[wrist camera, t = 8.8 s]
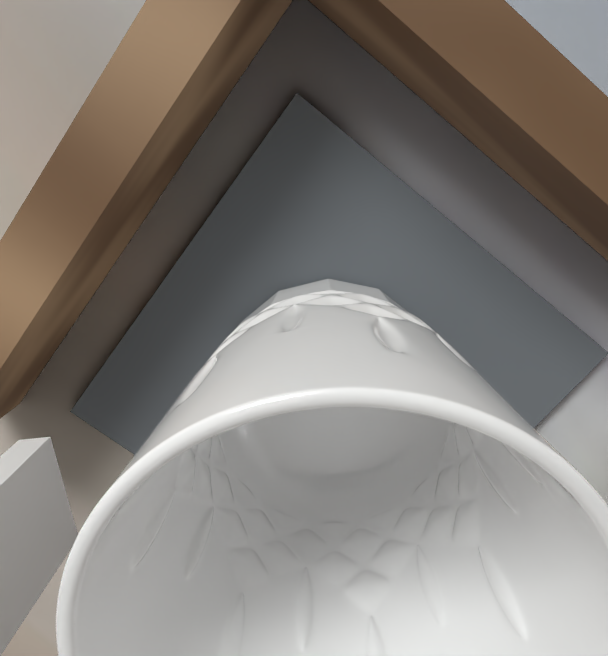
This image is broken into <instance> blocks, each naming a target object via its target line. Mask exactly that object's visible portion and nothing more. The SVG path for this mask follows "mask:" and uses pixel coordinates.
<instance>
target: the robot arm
mask: <svg viewBox="0 0 608 656" xmlns="http://www.w3.org/2000/svg"><path fill="white" fill-rule="evenodd" d="M77 536H78V533H77V529H76V526H75V522H74V519H73V515H72V512H71V508H70V504H69V501H68V497H67V494H66V490H65V487H64V483H63V480H62V476H61V472H60V469H59V465H58V462H57V458H56V455H55V451H54V448H53V444H52V440H51V437H42V438H33V439H23V440H18V441H17V442H16V443H15V444H14V445H13V446H11V447H10V448H9V449H8V450H7V451H6V452H5V453H4V454H2V455H1V456H0V656H1V654H2V653H3V651H4V650H5V648H6V647H7V645H8V644H9V642H10V640H11V639H12V637H13V636H14V634H15V633H16V631H17V630H18V628H19V627H20V625H21V624H22V622H23V621H24V619H25V618H26V616H27V615H28V613H29V612H30V610H31V609H32V607H33V606H34V604H35V603H36V601H37V600H38V598H39V597H40V595H41V594H42V592H43V590H44V589H45V587H46V586H47V584H48V583H49V581H50V580H51V578H52V577H53V575H54V574H55V572H56V571H57V569H58V568H59V566H60V565H61V563H62V562H63V560H64V559H65V557H66V556H67V554H68V553H69V551H70V550H71V548H72V546H73V544H74V542H75V540H76V538H77Z"/></svg>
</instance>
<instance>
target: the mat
mask: <svg viewBox="0 0 608 656" xmlns="http://www.w3.org/2000/svg"><path fill="white" fill-rule="evenodd" d="M324 279H334V280H339V281H344V282H348V283H353V284H358V285H363V286H368V287H373V288H378V289H380V290H381V291H382V292H384V293H385V294H386V295H388V296H389V297H390V298H392V299H393V300H394V301H395V302H397V303H398V304H399V305H401V306H402V307H403V308H405V309H406V310H407V311H408V312H410V313H411V314H413V315H415V316H416V317H418V318H419V319H421V320H422V321H423V322H425V323H426V324H427V325H428V326H429V327H430V328H432V329H433V330H434V331H435V332H436V333H438V334H439V335H440V336H441V337H442V338H443V339H444V340H445V341H446V342H448V343H449V344H450V345H451V346H452V347H453V348H454V349H455V350H456V351H457V352H459V353H460V354H461V355H462V356H463V357H464V358H465V359H466V360H467V361H468V362H469V363H470V364H471V365H472V366H473V367H474V368H475V369H476V370H477V371H478V372H479V373H480V374H481V375H482V376H483V377H484V378H485V379H486V380H487V381H488V382H489V383H490V384H491V385H492V387H493V388H494V389H495V390H496V391H497V392H498V393H499V394H500V395H501V396H502V397H503V398H504V399H505V400H506V401H507V402H508V403H509V404H510V405H511V406H512V407H513V408H514V409H515V410H516V411H517V412H518V413H519V414H520V415H521V416H522V417H523V418H524V419H525V420H526V421H527V422H528V423H529V424H530V425H531V426H532V427H533V428H534V427H535V426H536V425H537V424H538V423H539V422H540V421H541V420H542V419H543V418H544V417H545V416H546V415H547V414H548V413H549V412H550V411H551V410H552V409H553V408H554V407H555V406H556V405H557V404H558V403H559V402H560V401H561V400H562V399H563V398H564V397H565V396H566V395H567V394H568V393H569V392H570V391H571V390H572V389H573V388H574V387H575V386H576V385H577V384H578V383H579V382H580V381H581V380H582V379H583V378H584V377H585V376H586V375H587V374H588V373H589V372H590V371H591V370H592V369H593V368H594V367H595V366H596V365H597V364H598V363H599V362H600V361H601V360H602V359H603V358H604V357H605V356H606V355H607V354H608V352H607V351H606V350H605V349H603V348H602V347H601V346H600V345H599V344H597V343H596V342H595V341H594V340H593V339H591V338H590V337H589V336H588V335H587V334H585V333H584V332H583V331H582V330H581V329H579V328H578V327H577V326H576V325H575V324H573V323H572V322H571V321H570V320H569V319H567V318H566V317H565V316H564V315H563V314H561V313H560V312H559V311H558V310H557V309H555V308H554V307H553V306H552V305H551V304H549V303H548V302H547V301H546V300H545V299H543V298H542V297H541V296H540V295H539V294H537V293H536V292H535V291H534V290H533V289H531V288H530V287H529V286H528V285H527V284H525V283H524V282H523V281H522V280H521V279H519V278H518V277H517V276H516V275H515V274H513V273H512V272H511V271H510V270H509V269H507V268H506V267H505V266H504V265H503V264H501V263H500V262H499V261H498V260H497V259H495V258H494V257H493V256H492V255H491V254H489V253H488V252H487V251H486V250H485V249H484V248H482V247H481V246H480V245H479V244H478V243H476V242H475V241H474V240H473V239H472V238H470V237H469V236H468V235H467V234H466V233H464V232H463V231H462V230H461V229H460V228H458V227H457V226H456V225H455V224H454V223H452V222H451V221H450V220H449V219H448V218H446V217H445V216H444V215H443V214H442V213H440V212H439V211H438V210H437V209H436V208H434V207H433V206H432V205H431V204H430V203H428V202H427V201H426V200H425V199H424V198H422V197H421V196H420V195H419V194H418V193H416V192H415V191H414V190H413V189H412V188H410V187H409V186H408V185H407V184H406V183H404V182H403V181H402V180H401V179H400V178H398V177H397V176H396V175H395V174H394V173H392V172H391V171H390V170H389V169H388V168H386V167H385V166H384V165H383V164H382V163H380V162H379V161H378V160H377V159H376V158H374V157H373V156H372V155H371V154H370V153H368V152H367V151H366V150H365V149H364V148H362V147H361V146H360V145H359V144H358V143H356V142H355V141H354V140H353V139H352V138H350V137H349V136H348V135H347V134H346V133H344V132H343V131H342V130H341V129H340V128H338V127H337V126H336V125H335V124H334V123H332V122H331V121H330V120H329V119H328V118H326V117H325V116H324V115H323V114H322V113H320V112H319V111H318V110H317V109H316V108H314V107H313V106H312V105H311V104H310V103H308V102H307V101H306V100H305V99H304V98H302V97H301V96H300V95H299V94H298V93H296V95H295V96H294V98H293V99H292V100H291V102H290V103H289V105H288V106H287V107H286V109H285V110H284V112H283V113H282V114H281V116H280V117H279V119H278V120H277V122H276V123H275V124H274V126H273V127H272V129H271V130H270V131H269V133H268V134H267V136H266V137H265V138H264V140H263V141H262V143H261V144H260V145H259V147H258V148H257V150H256V151H255V152H254V154H253V155H252V157H251V158H250V159H249V161H248V162H247V164H246V165H245V167H244V168H243V169H242V171H241V172H240V174H239V175H238V176H237V178H236V179H235V181H234V182H233V183H232V185H231V186H230V188H229V189H228V190H227V192H226V193H225V195H224V196H223V197H222V199H221V200H220V202H219V203H218V205H217V206H216V207H215V209H214V210H213V212H212V213H211V214H210V216H209V217H208V219H207V220H206V221H205V223H204V224H203V226H202V227H201V228H200V230H199V231H198V233H197V234H196V235H195V237H194V238H193V240H192V241H191V242H190V244H189V245H188V247H187V248H186V250H185V251H184V252H183V254H182V255H181V257H180V258H179V259H178V261H177V262H176V264H175V265H174V266H173V268H172V269H171V271H170V272H169V273H168V275H167V276H166V278H165V279H164V280H163V282H162V283H161V285H160V286H159V287H158V289H157V290H156V292H155V293H154V295H153V296H152V297H151V299H150V300H149V302H148V303H147V304H146V306H145V307H144V309H143V310H142V311H141V313H140V314H139V316H138V317H137V318H136V320H135V321H134V323H133V324H132V325H131V327H130V328H129V330H128V331H127V333H126V334H125V335H124V337H123V338H122V340H121V341H120V342H119V344H118V345H117V347H116V348H115V349H114V351H113V352H112V354H111V355H110V356H109V358H108V359H107V361H106V362H105V363H104V365H103V366H102V368H101V369H100V370H99V372H98V373H97V375H96V376H95V378H94V379H93V380H92V382H91V383H90V385H89V386H88V387H87V389H86V390H85V392H84V393H83V394H82V396H81V397H80V399H79V400H78V401H77V403H76V404H75V406H74V407H73V408H72V410H71V411H70V412H72V413H73V414H75V415H76V416H78V417H79V418H81V419H82V420H84V421H85V422H87V423H88V424H90V425H91V426H93V427H94V428H96V429H97V430H99V431H100V432H102V433H103V434H105V435H106V436H108V437H109V438H110V439H112V440H113V441H115V442H116V443H118V444H119V445H121V446H122V447H124V448H125V449H127V450H128V451H130V452H131V453H133V454H134V455H135V454H136V452H137V451H138V450H139V449H140V447H141V446H142V445H143V443H144V442H145V441H146V439H147V438H148V437H149V435H150V434H151V433H152V431H153V430H154V429H155V427H156V426H157V425H158V423H159V422H160V421H161V419H162V418H163V417H164V415H165V414H166V413H167V411H168V410H169V409H170V407H171V406H172V405H173V403H174V402H175V401H176V399H177V398H178V397H179V395H180V394H181V393H182V391H183V390H184V389H185V387H186V386H187V384H188V383H189V382H190V380H191V379H192V378H193V377H194V375H195V374H196V373H197V372H198V371H199V369H200V368H201V367H202V366H203V365H204V364H205V363H206V362H207V361H208V359H209V358H210V357H211V356H212V354H213V353H214V352H215V350H216V349H217V348H218V347H219V346H220V345H221V343H222V342H223V341H224V340H225V339H226V338H227V337H228V336H229V335H230V334H231V333H232V332H233V331H234V330H235V329H236V328H237V326H238V325H239V323H240V322H241V321H243V320H244V319H245V318H246V317H247V316H249V315H250V314H251V313H252V312H253V311H255V310H256V309H257V308H258V307H259V306H261V305H262V304H263V303H264V302H265V301H267V300H268V299H269V298H270V297H271V296H273V295H274V294H275V293H276V292H278V291H279V290H283V289H287V288H291V287H295V286H299V285H304V284H308V283H312V282H316V281H320V280H324Z"/></svg>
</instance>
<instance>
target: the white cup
mask: <svg viewBox="0 0 608 656" xmlns="http://www.w3.org/2000/svg"><path fill="white" fill-rule="evenodd" d="M56 641H57V650H58V656H608V505H607V504H606V502H605V501H604V500H603V498H602V497H601V496H600V495H599V493H598V492H597V491H596V490H595V489H594V488H593V486H592V485H591V484H590V483H589V482H588V481H587V480H586V479H585V478H584V477H583V476H582V475H581V474H580V473H579V472H578V471H577V470H576V469H575V468H574V467H573V466H572V465H571V464H570V463H569V462H568V461H567V460H566V459H565V458H564V457H563V456H562V455H561V454H560V453H559V452H558V451H557V450H556V449H555V448H554V447H553V446H552V445H551V444H550V443H549V442H548V441H547V440H546V439H545V438H544V437H543V436H542V435H541V434H540V433H539V432H538V431H537V430H535V429H534V428H533V427H532V426H531V425H530V424H529V423H528V422H527V421H526V420H525V419H524V418H523V417H522V416H521V415H520V414H519V413H518V412H517V411H516V410H515V409H514V408H513V407H512V406H511V405H510V404H509V403H508V402H507V401H506V400H505V399H504V398H503V397H502V396H501V395H500V394H499V393H498V392H497V391H496V390H495V389H494V388H493V387H492V385H491V384H490V383H489V382H488V381H487V380H486V379H485V378H484V377H483V376H482V375H481V374H480V373H479V372H478V371H477V370H476V369H475V368H474V367H473V366H472V365H471V364H470V363H469V362H468V361H467V360H466V359H465V358H464V357H463V356H462V355H461V354H460V353H459V352H457V351H456V350H455V349H454V348H453V347H452V346H451V345H450V344H449V343H448V342H446V341H445V340H444V339H443V338H442V337H441V336H440V335H439V334H438V333H436V332H435V331H434V330H433V329H432V328H430V327H429V326H428V325H427V324H426V323H425V322H423V321H422V320H421V319H419V318H418V317H416V316H415V315H413V314H411V313H410V312H408V311H407V310H406V309H405V308H403V307H402V306H401V305H399V304H398V303H397V302H395V301H394V300H393V299H392V298H390V297H389V296H388V295H386V294H385V293H384V292H382V291H381V290H380V289H378V288H373V287H368V286H363V285H358V284H353V283H348V282H344V281H339V280H334V279H324V280H320V281H316V282H312V283H308V284H304V285H299V286H295V287H291V288H287V289H283V290H279V291H278V292H276V293H275V294H274V295H273V296H271V297H270V298H269V299H268V300H267V301H265V302H264V303H263V304H262V305H261V306H259V307H258V308H257V309H256V310H255V311H253V312H252V313H251V314H250V315H249V316H247V317H246V318H245V319H244V320H243V321H241V322H240V323H239V325H238V326H237V328H236V329H235V330H234V331H233V332H232V333H231V334H230V335H229V336H228V337H227V338H226V339H225V340H224V341H223V342H222V343H221V345H220V346H219V347H218V348H217V349H216V350H215V352H214V353H213V354H212V356H211V357H210V358H209V359H208V361H207V362H206V363H205V364H204V365H203V366H202V367H201V368H200V369H199V371H198V372H197V373H196V374H195V375H194V377H193V378H192V379H191V380H190V382H189V383H188V384H187V386H186V387H185V389H184V390H183V391H182V393H181V394H180V395H179V397H178V398H177V399H176V401H175V402H174V403H173V405H172V406H171V407H170V409H169V410H168V411H167V413H166V414H165V415H164V417H163V418H162V419H161V421H160V422H159V423H158V425H157V426H156V427H155V429H154V430H153V431H152V433H151V434H150V435H149V437H148V438H147V439H146V441H145V442H144V443H143V445H142V446H141V447H140V449H139V450H138V451H137V452H136V454H135V455H134V456H133V458H132V459H131V460H130V462H129V463H128V464H127V465H126V467H125V468H124V469H123V471H122V472H121V473H120V475H119V476H118V477H117V478H116V480H115V481H114V482H113V484H112V485H111V486H110V488H109V489H108V490H107V491H106V493H105V494H104V495H103V497H102V498H101V499H100V500H99V502H98V503H97V505H96V506H95V507H94V509H93V510H92V512H91V513H90V515H89V516H88V518H87V520H86V521H85V523H84V525H83V526H82V528H81V530H80V532H79V534H78V536H77V538H76V540H75V542H74V544H73V546H72V549H71V551H70V554H69V556H68V559H67V562H66V565H65V568H64V572H63V575H62V579H61V583H60V588H59V593H58V600H57V609H56Z"/></svg>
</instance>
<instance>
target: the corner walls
mask: <svg viewBox="0 0 608 656" xmlns="http://www.w3.org/2000/svg"><path fill="white" fill-rule="evenodd" d="M292 1H293V0H146V2H145V3H144V5H143V7H142V8H141V10H140V12H139V13H138V15H137V17H136V18H135V20H134V21H133V23H132V25H131V26H130V28H129V30H128V31H127V33H126V35H125V36H124V38H123V40H122V41H121V43H120V45H119V46H118V48H117V49H116V51H115V53H114V54H113V56H112V58H111V59H110V61H109V63H108V64H107V66H106V68H105V69H104V71H103V73H102V74H101V76H100V77H99V79H98V81H97V82H96V84H95V86H94V87H93V89H92V91H91V92H90V94H89V96H88V97H87V99H86V101H85V102H84V104H83V106H82V107H81V109H80V110H79V112H78V114H77V115H76V117H75V119H74V120H73V122H72V124H71V125H70V127H69V129H68V130H67V132H66V134H65V135H64V137H63V138H62V140H61V142H60V143H59V145H58V147H57V148H56V150H55V152H54V153H53V155H52V157H51V158H50V160H49V162H48V163H47V165H46V166H45V168H44V170H43V171H42V173H41V175H40V176H39V178H38V180H37V181H36V183H35V185H34V186H33V188H32V190H31V191H30V193H29V195H28V196H27V198H26V199H25V201H24V203H23V204H22V206H21V208H20V209H19V211H18V213H17V214H16V216H15V218H14V219H13V221H12V223H11V224H10V226H9V227H8V229H7V231H6V232H5V234H4V236H3V237H2V239H1V241H0V418H1V417H3V416H4V415H5V414H7V413H8V412H9V411H11V410H12V409H13V408H15V407H16V406H17V405H18V404H20V402H21V401H22V399H23V398H24V396H25V395H26V393H27V392H28V391H29V389H30V388H31V386H32V385H33V383H34V382H35V380H36V379H37V377H38V376H39V374H40V373H41V371H42V370H43V368H44V367H45V365H46V364H47V362H48V361H49V359H50V358H51V357H52V355H53V354H54V352H55V351H56V349H57V348H58V346H59V345H60V343H61V342H62V340H63V339H64V337H65V336H66V334H67V333H68V331H69V330H70V328H71V327H72V326H73V324H74V323H75V321H76V320H77V318H78V317H79V315H80V314H81V312H82V311H83V309H84V308H85V306H86V305H87V303H88V302H89V300H90V299H91V297H92V296H93V295H94V293H95V292H96V290H97V289H98V287H99V286H100V284H101V283H102V281H103V280H104V278H105V277H106V275H107V274H108V272H109V271H110V269H111V268H112V266H113V265H114V264H115V262H116V261H117V259H118V258H119V256H120V255H121V253H122V252H123V250H124V249H125V247H126V246H127V244H128V243H129V241H130V240H131V238H132V237H133V235H134V234H135V233H136V231H137V230H138V228H139V227H140V225H141V224H142V222H143V221H144V219H145V218H146V216H147V215H148V213H149V212H150V210H151V209H152V207H153V206H154V204H155V203H156V201H157V200H158V199H159V197H160V196H161V194H162V193H163V191H164V190H165V188H166V187H167V185H168V184H169V182H170V181H171V179H172V178H173V176H174V175H175V173H176V172H177V170H178V169H179V168H180V166H181V165H182V163H183V162H184V160H185V159H186V157H187V156H188V154H189V153H190V151H191V150H192V148H193V147H194V145H195V144H196V142H197V141H198V139H199V138H200V137H201V135H202V134H203V132H204V131H205V129H206V128H207V126H208V125H209V123H210V122H211V120H212V119H213V117H214V116H215V114H216V113H217V111H218V110H219V108H220V107H221V106H222V104H223V103H224V101H225V100H226V98H227V97H228V95H229V94H230V92H231V91H232V89H233V88H234V86H235V85H236V83H237V82H238V80H239V79H240V77H241V76H242V75H243V73H244V72H245V70H246V69H247V67H248V66H249V64H250V63H251V61H252V60H253V58H254V57H255V55H256V54H257V52H258V51H259V49H260V48H261V46H262V45H263V44H264V42H265V41H266V39H267V38H268V36H269V35H270V33H271V32H272V30H273V29H274V27H275V26H276V24H277V23H278V21H279V20H280V18H281V17H282V15H283V14H284V12H285V11H286V10H287V8H288V7H289V5H290V4H291V2H292ZM308 1H310V2H311V3H312V4H313V5H314V6H315V7H316V8H318V9H319V10H320V11H321V12H322V13H323V14H324V15H326V16H327V17H328V18H329V19H330V20H331V21H333V22H334V23H335V24H336V25H337V26H338V27H339V28H341V29H342V30H343V31H344V32H345V33H346V34H347V35H349V36H350V37H351V38H352V39H353V40H354V41H356V42H357V43H358V44H359V45H360V46H361V47H362V48H364V49H365V50H366V51H367V52H368V53H369V54H370V55H372V56H373V57H374V58H375V59H376V60H377V61H378V62H380V63H381V64H382V65H383V66H384V67H385V68H387V69H388V70H389V71H390V72H391V73H392V74H393V75H395V76H396V77H397V78H398V79H399V80H400V81H401V82H403V83H404V84H405V85H406V86H407V87H408V88H410V89H411V90H412V91H413V92H414V93H415V94H416V95H418V96H419V97H420V98H421V99H422V100H423V101H424V102H426V103H427V104H428V105H429V106H430V107H431V108H432V109H434V110H435V111H436V112H437V113H438V114H439V115H441V116H442V117H443V118H444V119H445V120H446V121H447V122H449V123H450V124H451V125H452V126H453V127H454V128H455V129H457V130H458V131H459V132H460V133H461V134H462V135H464V136H465V137H466V138H467V139H468V140H469V141H470V142H472V143H473V144H474V145H475V146H476V147H477V148H478V149H480V150H481V151H482V152H483V153H484V154H485V155H487V156H488V157H489V158H490V159H491V160H492V161H493V162H495V163H496V164H497V165H498V166H499V167H500V168H501V169H503V170H504V171H505V172H506V173H507V174H508V175H509V176H511V177H512V178H513V179H514V180H515V181H516V182H518V183H519V184H520V185H521V186H522V187H523V188H524V189H526V190H527V191H528V192H529V193H530V194H531V195H532V196H534V197H535V198H536V199H537V200H538V201H539V202H541V203H542V204H543V205H544V206H545V207H546V208H547V209H549V210H550V211H551V212H552V213H553V214H554V215H555V216H557V217H558V218H559V219H560V220H561V221H562V222H563V223H565V224H566V225H567V226H568V227H569V228H570V229H572V230H573V231H574V232H575V233H576V234H577V235H578V236H580V237H581V238H582V239H583V240H584V241H585V242H586V243H588V244H589V245H590V246H591V247H592V248H593V249H595V250H596V251H597V252H598V253H599V254H600V255H601V256H603V257H604V258H605V259H606V260H607V261H608V97H607V96H606V95H605V94H604V93H603V92H602V91H601V90H600V89H599V88H598V87H596V86H595V85H594V84H593V83H592V82H591V81H590V80H589V79H588V78H587V77H586V76H585V75H584V74H583V73H581V72H580V71H579V70H578V69H577V68H576V67H575V66H574V65H573V64H572V63H571V62H570V61H569V60H568V59H567V58H565V57H564V56H563V55H562V54H561V53H560V52H559V51H558V50H557V49H556V48H555V47H554V46H553V45H552V44H550V43H549V42H548V41H547V40H546V39H545V38H544V37H543V36H542V35H541V34H540V33H539V32H538V31H537V30H536V29H534V28H533V27H532V26H531V25H530V24H529V23H528V22H527V21H526V20H525V19H524V18H523V17H522V16H521V15H519V14H518V13H517V12H516V11H515V10H514V9H513V8H512V7H511V6H510V5H509V4H508V3H507V2H506V1H505V0H308Z"/></svg>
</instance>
